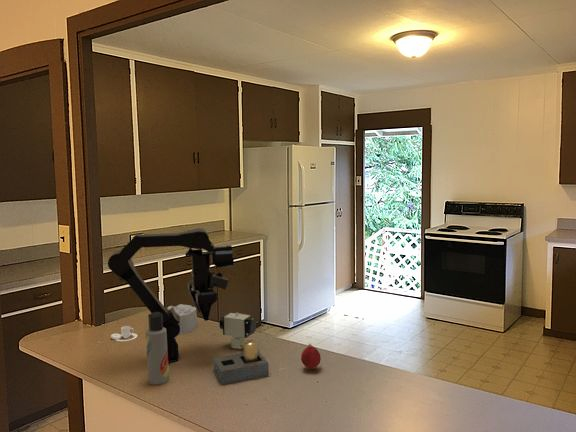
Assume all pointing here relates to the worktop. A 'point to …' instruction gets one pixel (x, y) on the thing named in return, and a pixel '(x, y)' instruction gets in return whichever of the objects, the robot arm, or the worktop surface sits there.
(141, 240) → the robot arm
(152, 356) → the lotion bottle
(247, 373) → the socket block
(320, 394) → the worktop surface
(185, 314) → the lumpy-topped squat cylinder
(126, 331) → the teacup and saucer
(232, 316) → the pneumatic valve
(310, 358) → the onion
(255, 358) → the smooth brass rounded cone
